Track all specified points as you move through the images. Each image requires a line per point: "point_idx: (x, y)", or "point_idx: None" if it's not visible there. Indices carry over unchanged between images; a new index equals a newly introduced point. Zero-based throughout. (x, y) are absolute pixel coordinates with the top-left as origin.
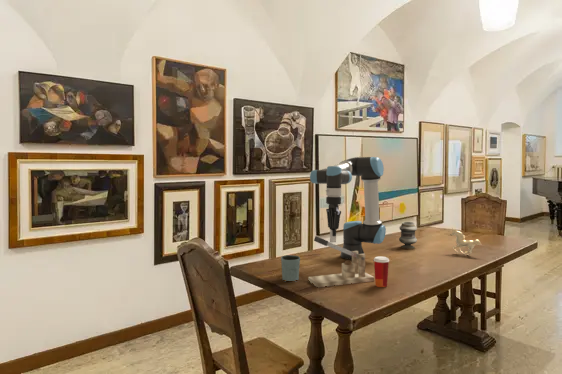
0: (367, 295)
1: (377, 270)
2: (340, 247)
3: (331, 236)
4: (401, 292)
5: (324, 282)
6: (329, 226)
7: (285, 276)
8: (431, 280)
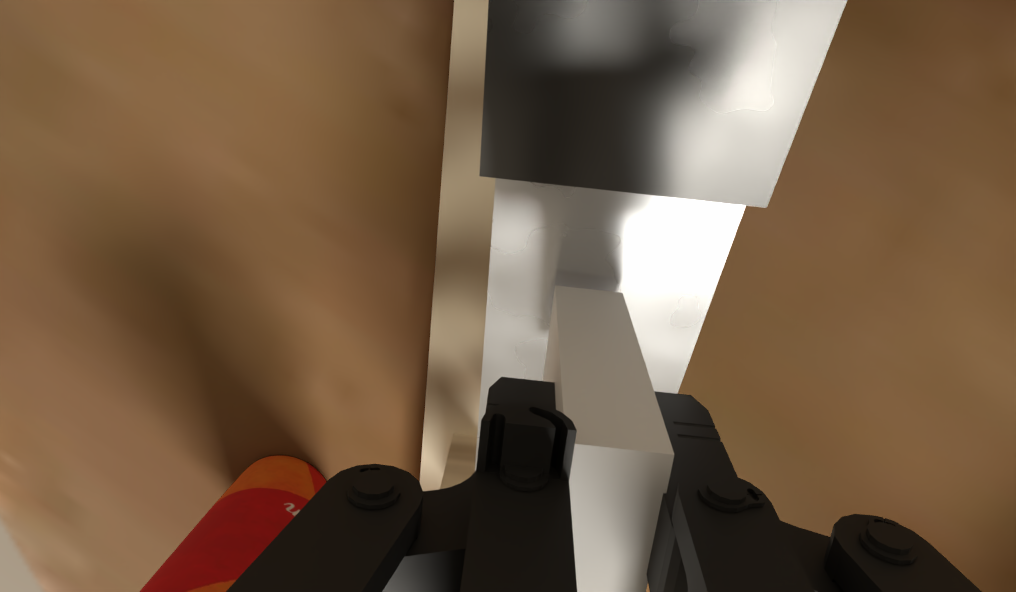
0: (89, 247)
1: (197, 541)
2: (479, 405)
3: (558, 348)
4: (84, 519)
5: (463, 17)
6: (832, 558)
7: None
8: None
